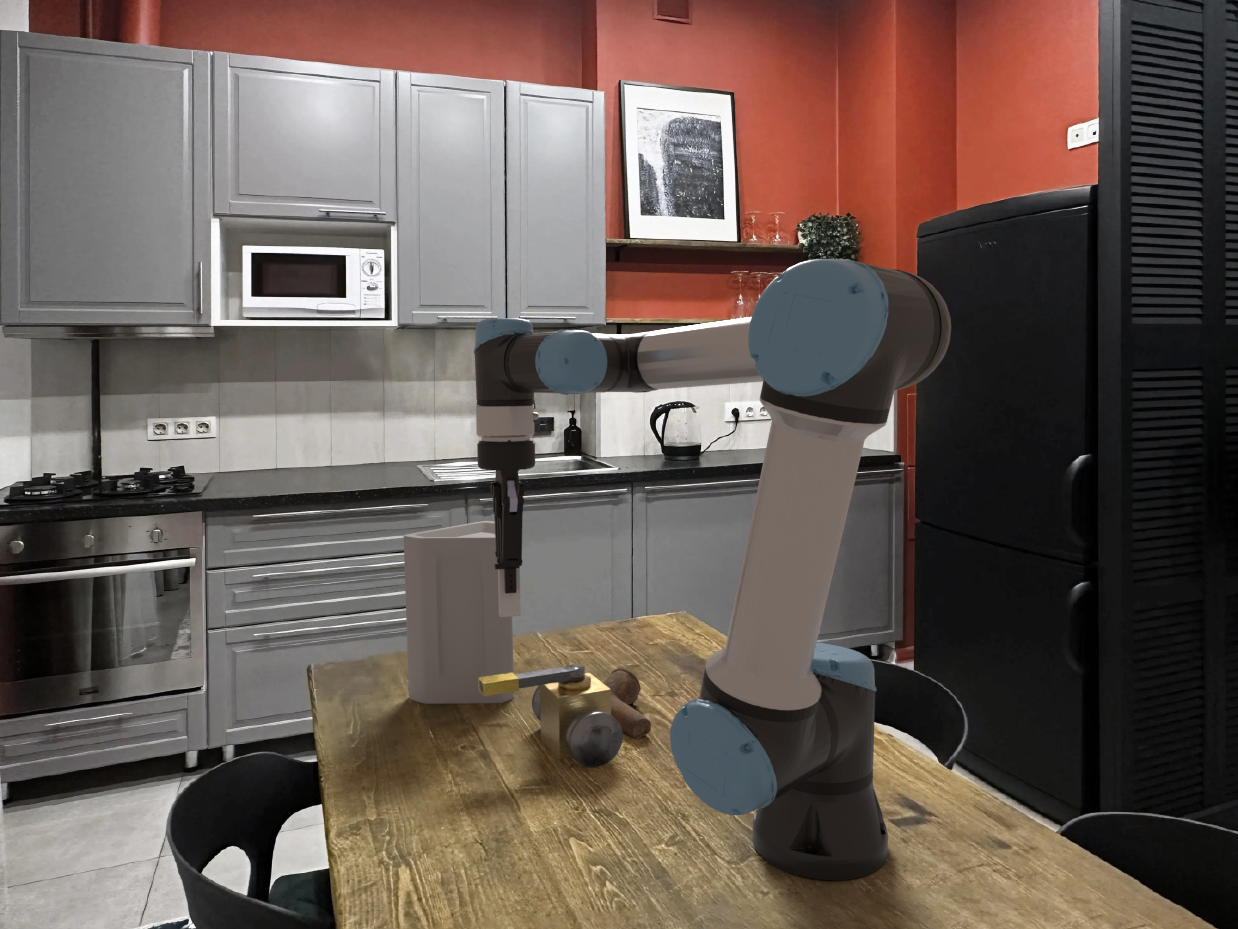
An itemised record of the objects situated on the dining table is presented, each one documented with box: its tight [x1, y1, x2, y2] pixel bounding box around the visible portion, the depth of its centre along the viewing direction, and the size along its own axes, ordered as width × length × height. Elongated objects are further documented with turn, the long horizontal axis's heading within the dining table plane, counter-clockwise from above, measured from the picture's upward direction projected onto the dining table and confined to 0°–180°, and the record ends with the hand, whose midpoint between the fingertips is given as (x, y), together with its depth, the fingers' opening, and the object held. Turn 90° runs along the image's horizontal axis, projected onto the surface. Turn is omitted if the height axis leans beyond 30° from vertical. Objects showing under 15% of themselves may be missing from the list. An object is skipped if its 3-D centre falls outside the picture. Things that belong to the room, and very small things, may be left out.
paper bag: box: [403, 520, 515, 705], centre depth 149 cm, size 19×15×28 cm
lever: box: [479, 663, 586, 696], centre depth 124 cm, size 16×3×2 cm, turn 114°
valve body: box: [531, 672, 624, 768], centre depth 127 cm, size 17×8×10 cm, turn 25°
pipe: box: [602, 667, 652, 739], centre depth 137 cm, size 6×17×10 cm
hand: (509, 614), depth 116 cm, fingers closed
